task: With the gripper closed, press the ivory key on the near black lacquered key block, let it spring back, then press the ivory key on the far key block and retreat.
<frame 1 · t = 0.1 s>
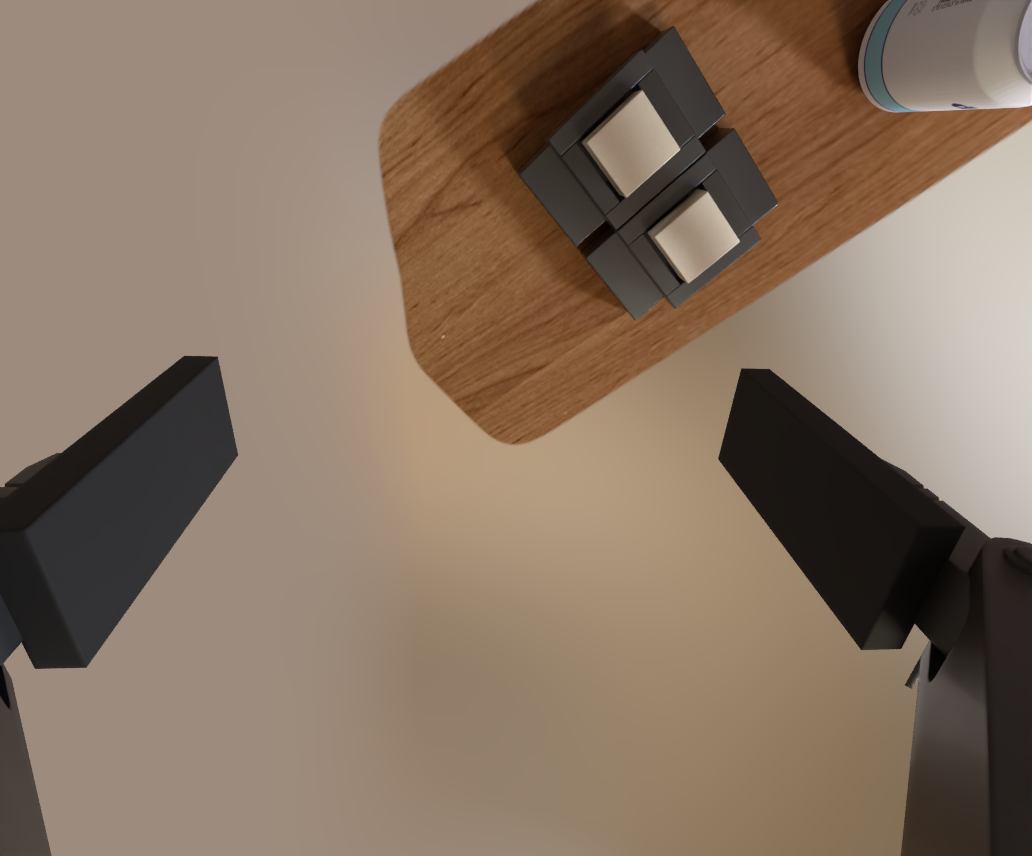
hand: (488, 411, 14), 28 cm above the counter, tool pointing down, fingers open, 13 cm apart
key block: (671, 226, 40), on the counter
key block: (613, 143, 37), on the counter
c key: (630, 145, 33), point 4 cm above the counter, slide at 0.1 cm
e key: (692, 236, 36), point 4 cm above the counter, slide at 0.1 cm
beverage can: (900, 51, 36), on the counter
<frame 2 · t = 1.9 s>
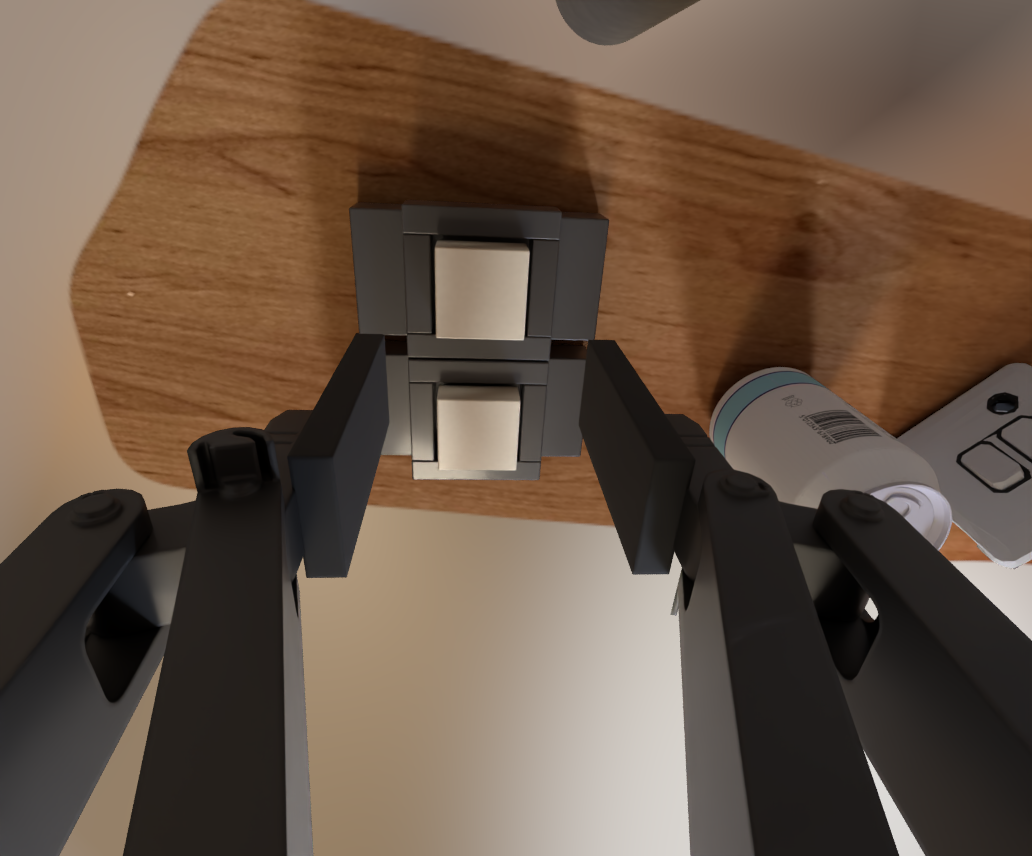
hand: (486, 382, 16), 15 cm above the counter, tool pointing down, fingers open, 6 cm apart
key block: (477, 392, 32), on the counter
electrical switch: (957, 427, 36), on the counter
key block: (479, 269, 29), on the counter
c key: (481, 290, 25), point 4 cm above the counter, slide at 0.1 cm
e key: (477, 428, 29), point 4 cm above the counter, slide at 0.1 cm
beverage can: (757, 411, 35), on the counter
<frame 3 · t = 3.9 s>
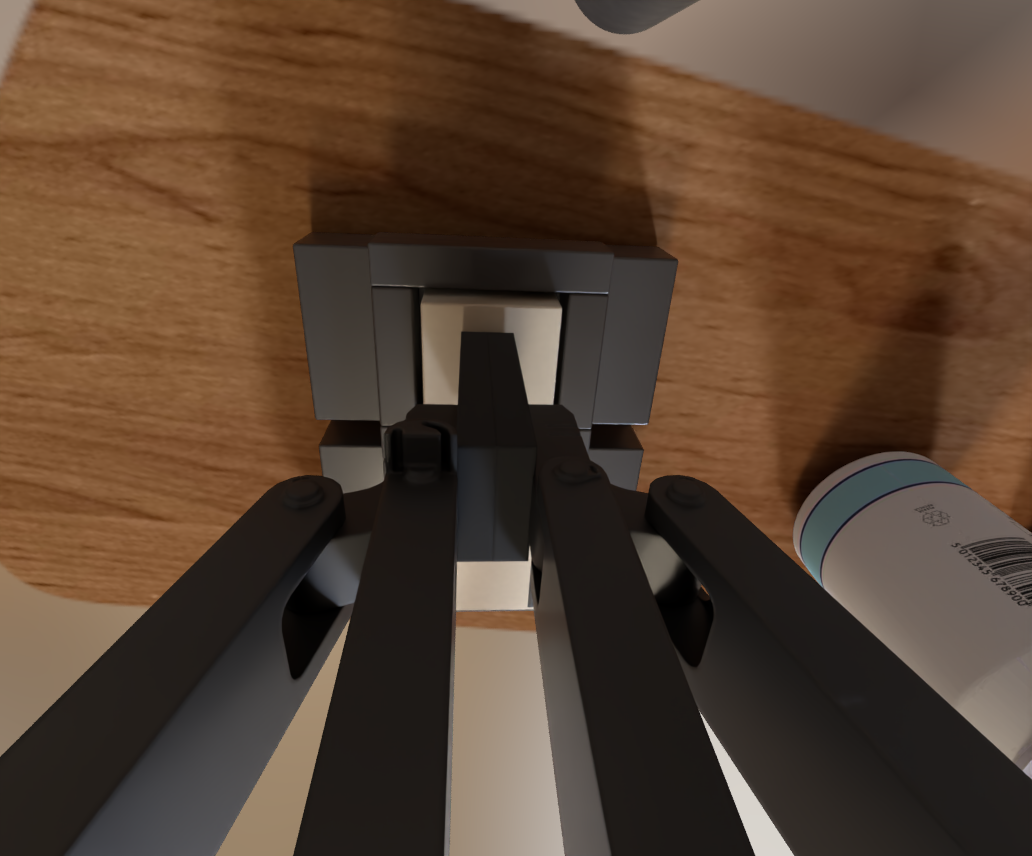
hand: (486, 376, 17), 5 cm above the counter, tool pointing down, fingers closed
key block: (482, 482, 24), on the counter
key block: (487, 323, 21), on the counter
c key: (489, 360, 17), point 4 cm above the counter, slide at -0.7 cm, touching gripper
e key: (484, 551, 20), point 4 cm above the counter, slide at 0.1 cm
beverage can: (853, 502, 26), on the counter
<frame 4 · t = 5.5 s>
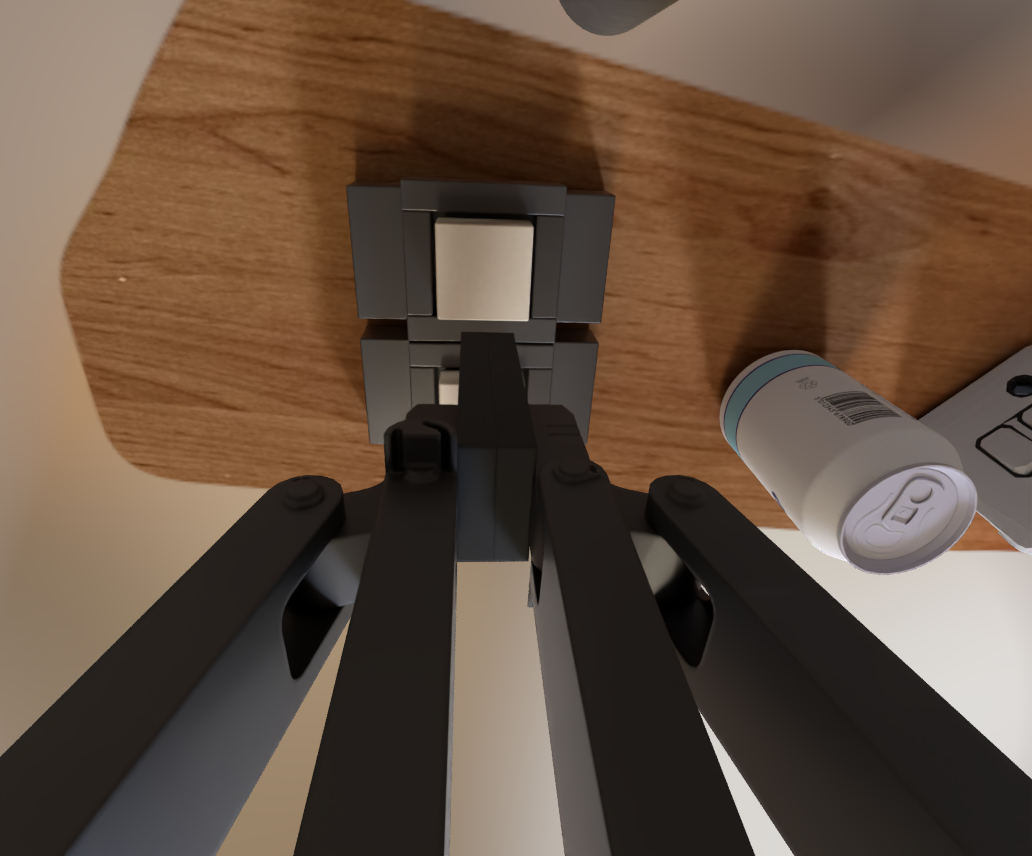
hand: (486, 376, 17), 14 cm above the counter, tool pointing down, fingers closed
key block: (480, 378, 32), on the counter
electrical switch: (975, 412, 35), on the counter
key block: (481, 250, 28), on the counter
c key: (483, 269, 24), point 4 cm above the counter, slide at 0.1 cm
e key: (481, 414, 28), point 4 cm above the counter, slide at 0.1 cm
beverage can: (768, 397, 34), on the counter
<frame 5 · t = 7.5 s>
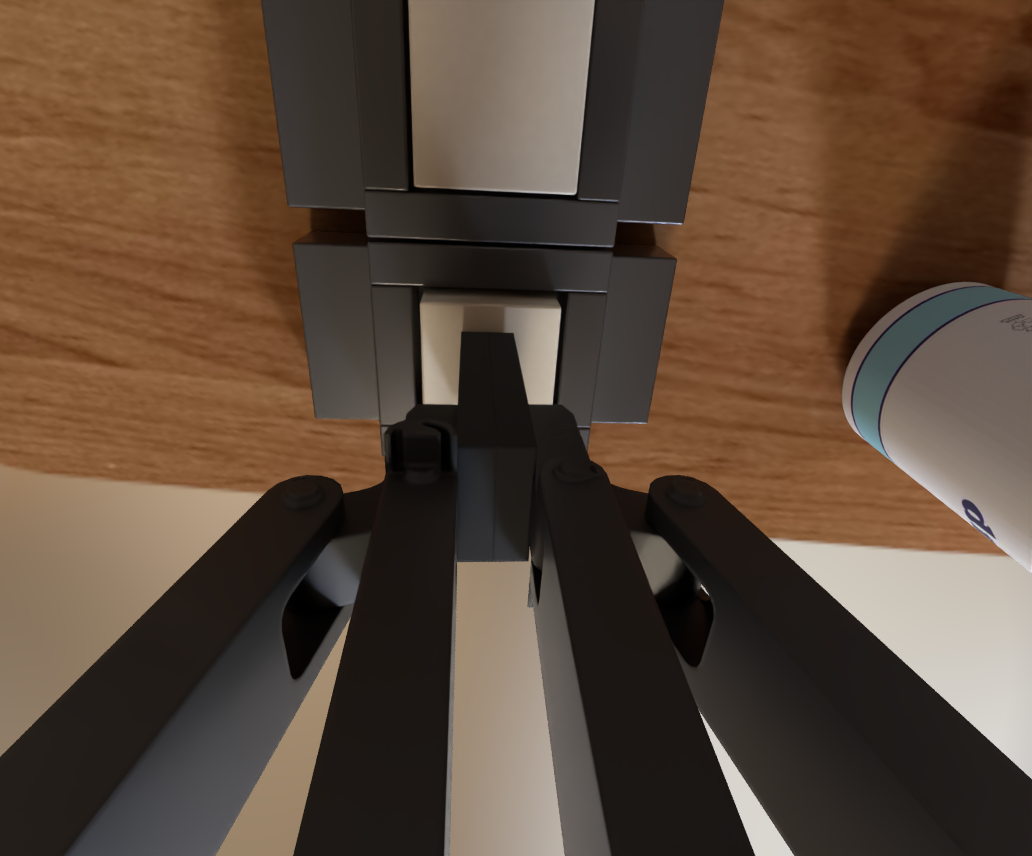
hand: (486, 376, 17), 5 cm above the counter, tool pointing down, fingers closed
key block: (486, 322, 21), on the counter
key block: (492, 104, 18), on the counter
c key: (497, 98, 14), point 4 cm above the counter, slide at 0.1 cm
e key: (488, 359, 17), point 4 cm above the counter, slide at -0.6 cm, touching gripper
beverage can: (909, 359, 23), on the counter
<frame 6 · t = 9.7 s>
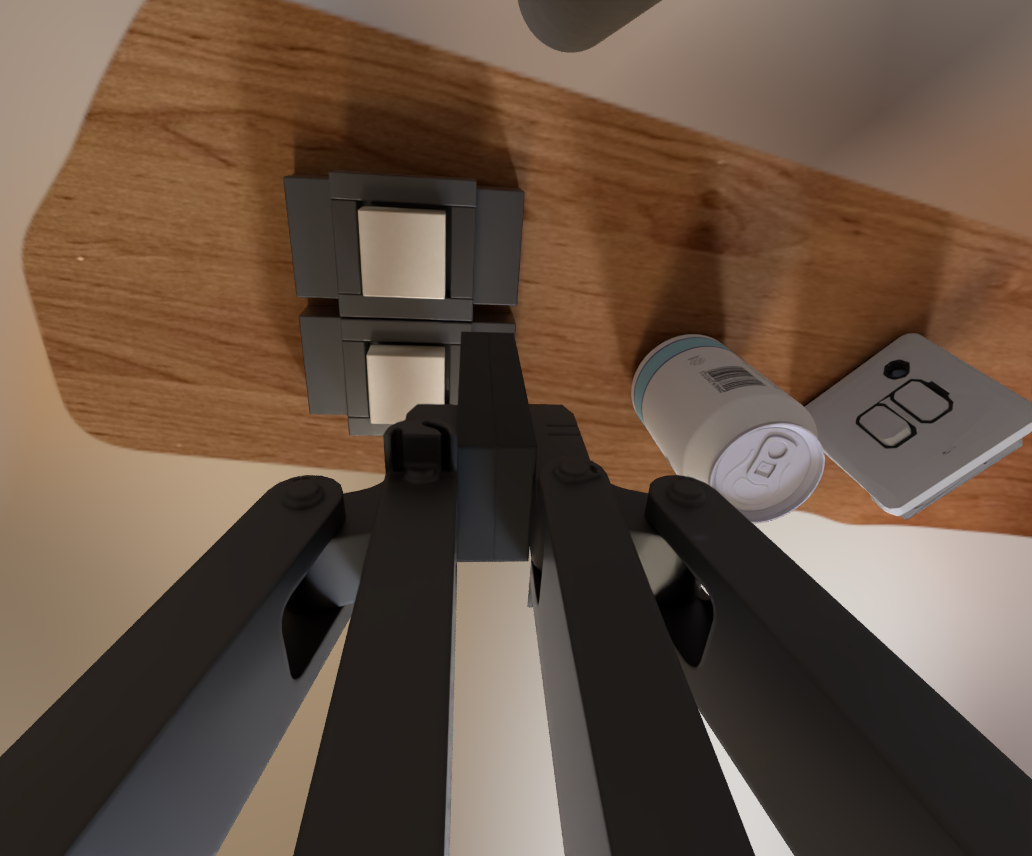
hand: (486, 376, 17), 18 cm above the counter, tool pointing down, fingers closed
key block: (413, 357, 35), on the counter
electrical switch: (863, 395, 39), on the counter
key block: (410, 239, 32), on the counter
c key: (404, 253, 28), point 4 cm above the counter, slide at 0.1 cm
e key: (407, 384, 31), point 4 cm above the counter, slide at 0.1 cm
beverage can: (677, 378, 37), on the counter
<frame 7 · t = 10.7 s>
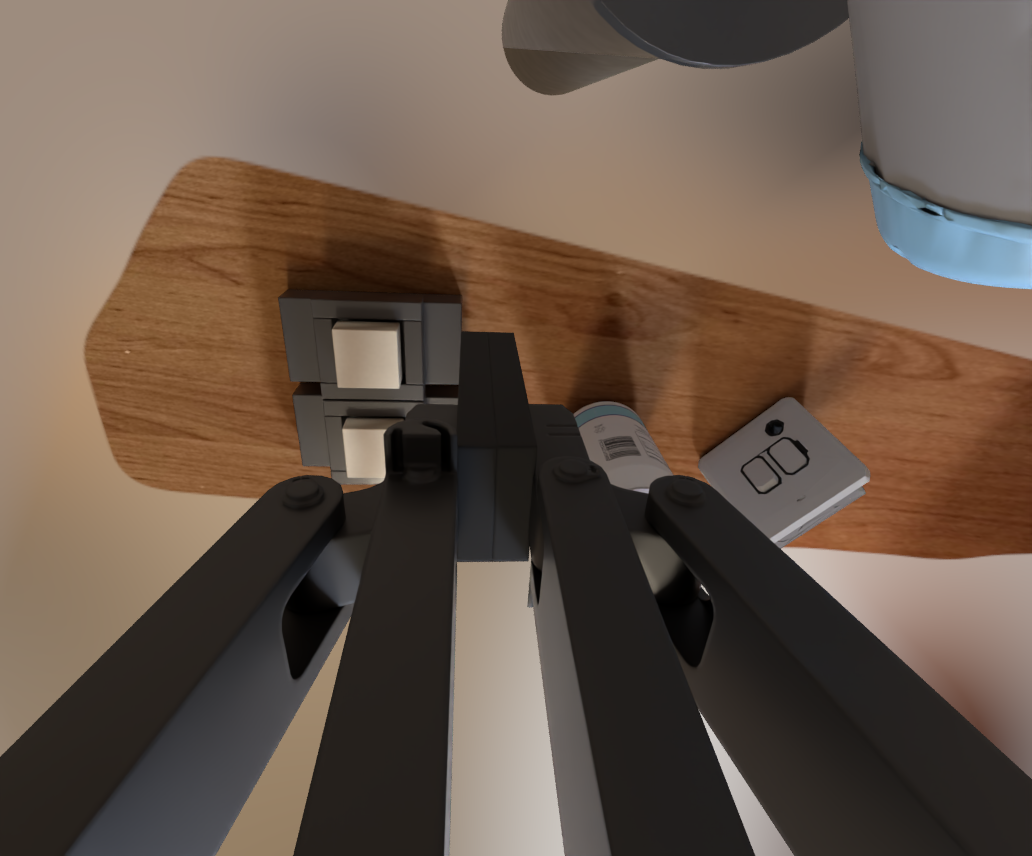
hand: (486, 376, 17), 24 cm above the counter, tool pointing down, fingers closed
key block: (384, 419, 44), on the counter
electrical switch: (756, 444, 48), on the counter
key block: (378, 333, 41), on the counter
c key: (368, 355, 37), point 4 cm above the counter, slide at 0.1 cm
e key: (375, 447, 40), point 4 cm above the counter, slide at 0.1 cm
beverage can: (598, 433, 46), on the counter
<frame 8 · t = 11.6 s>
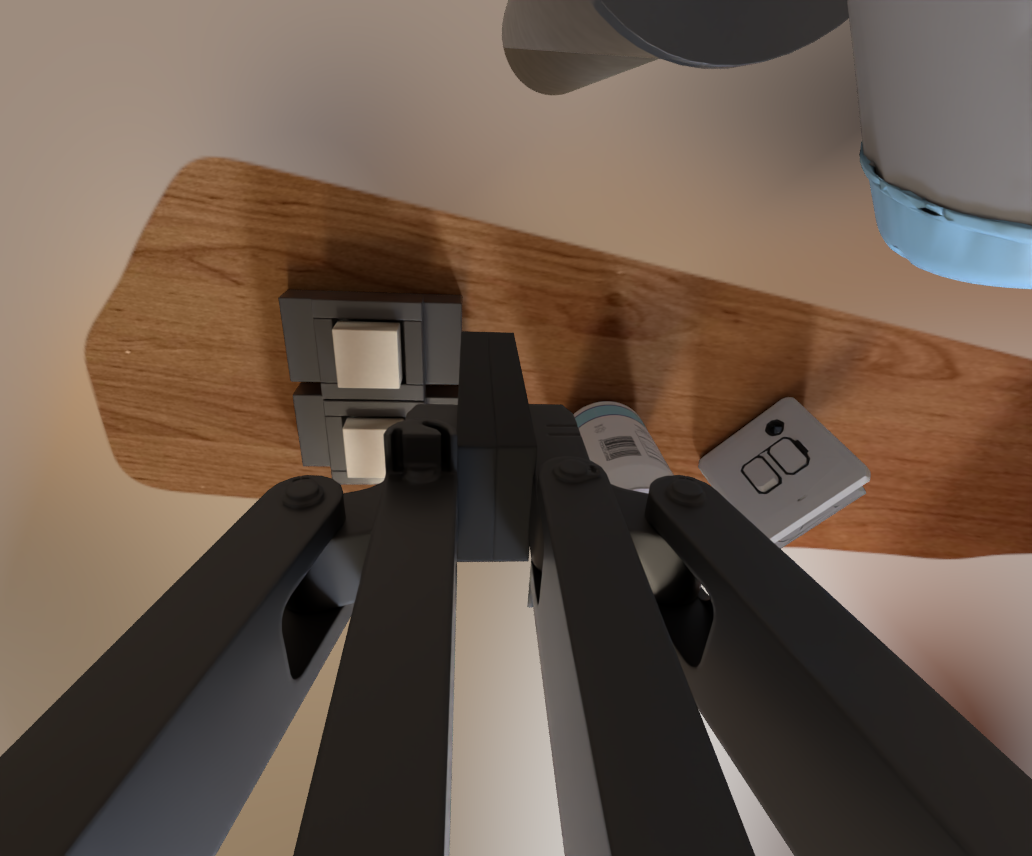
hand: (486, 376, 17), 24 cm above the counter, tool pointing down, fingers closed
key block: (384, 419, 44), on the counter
electrical switch: (757, 444, 48), on the counter
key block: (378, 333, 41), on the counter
c key: (368, 355, 37), point 4 cm above the counter, slide at 0.1 cm
e key: (375, 447, 40), point 4 cm above the counter, slide at 0.1 cm
beverage can: (599, 433, 46), on the counter
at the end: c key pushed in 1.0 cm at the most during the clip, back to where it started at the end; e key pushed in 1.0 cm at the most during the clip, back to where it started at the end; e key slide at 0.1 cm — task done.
